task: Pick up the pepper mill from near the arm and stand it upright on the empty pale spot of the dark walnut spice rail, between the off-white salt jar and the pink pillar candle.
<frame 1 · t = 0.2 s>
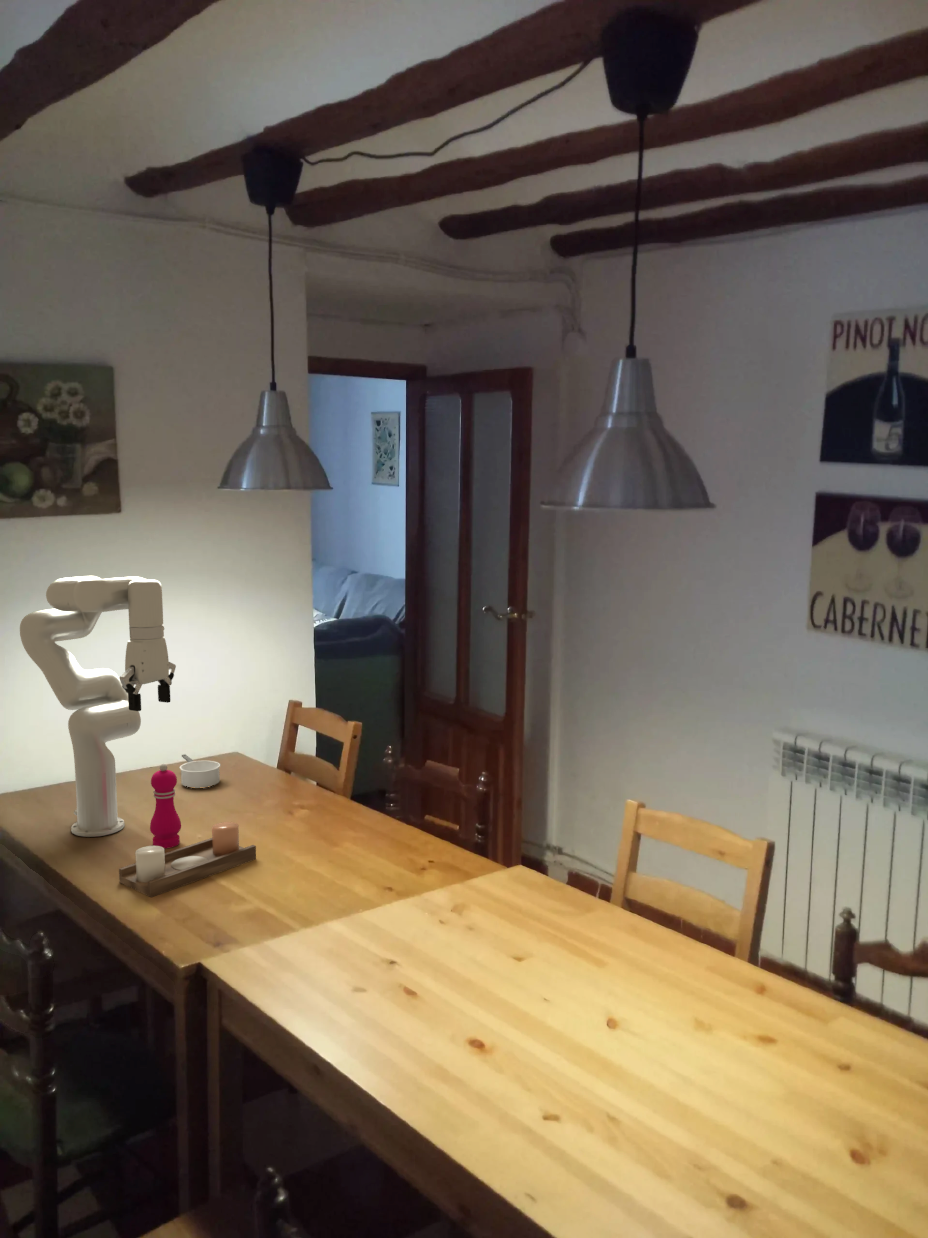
hand: (150, 706, 232), 35 cm above the table, tool pointing down, fingers open, 9 cm apart
pink pillar candle: (226, 857, 233), resting on spice rail
pepper mill: (166, 845, 242), on the table
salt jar: (151, 884, 218), resting on spice rail
spice rail: (189, 870, 226), on the table
saucepan: (195, 781, 292), on the table
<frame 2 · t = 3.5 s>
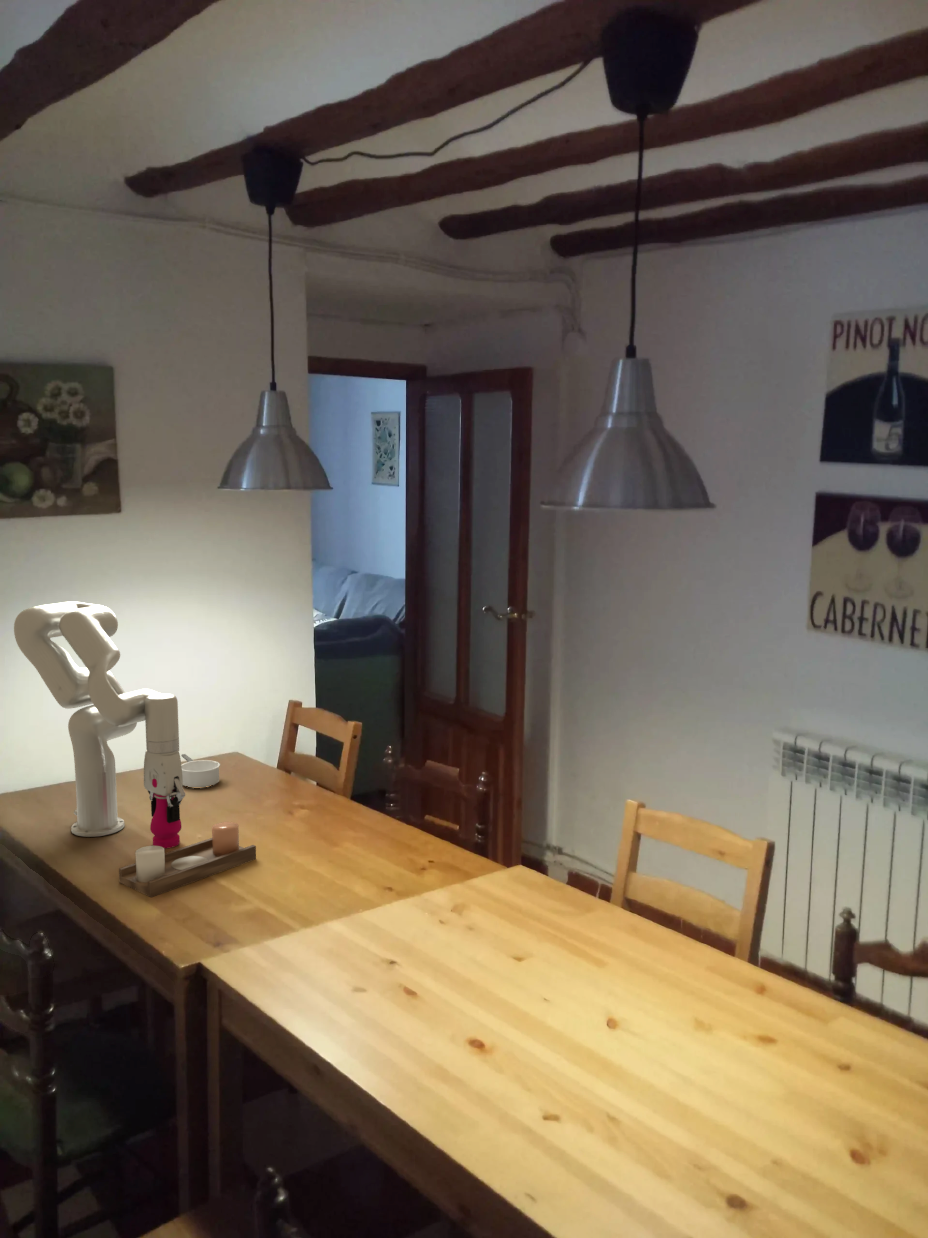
hand: (165, 817, 241), 7 cm above the table, tool pointing down, fingers closed on pepper mill, 5 cm apart
pepper mill: (166, 844, 242), on the table, touching gripper
everything else where it was.
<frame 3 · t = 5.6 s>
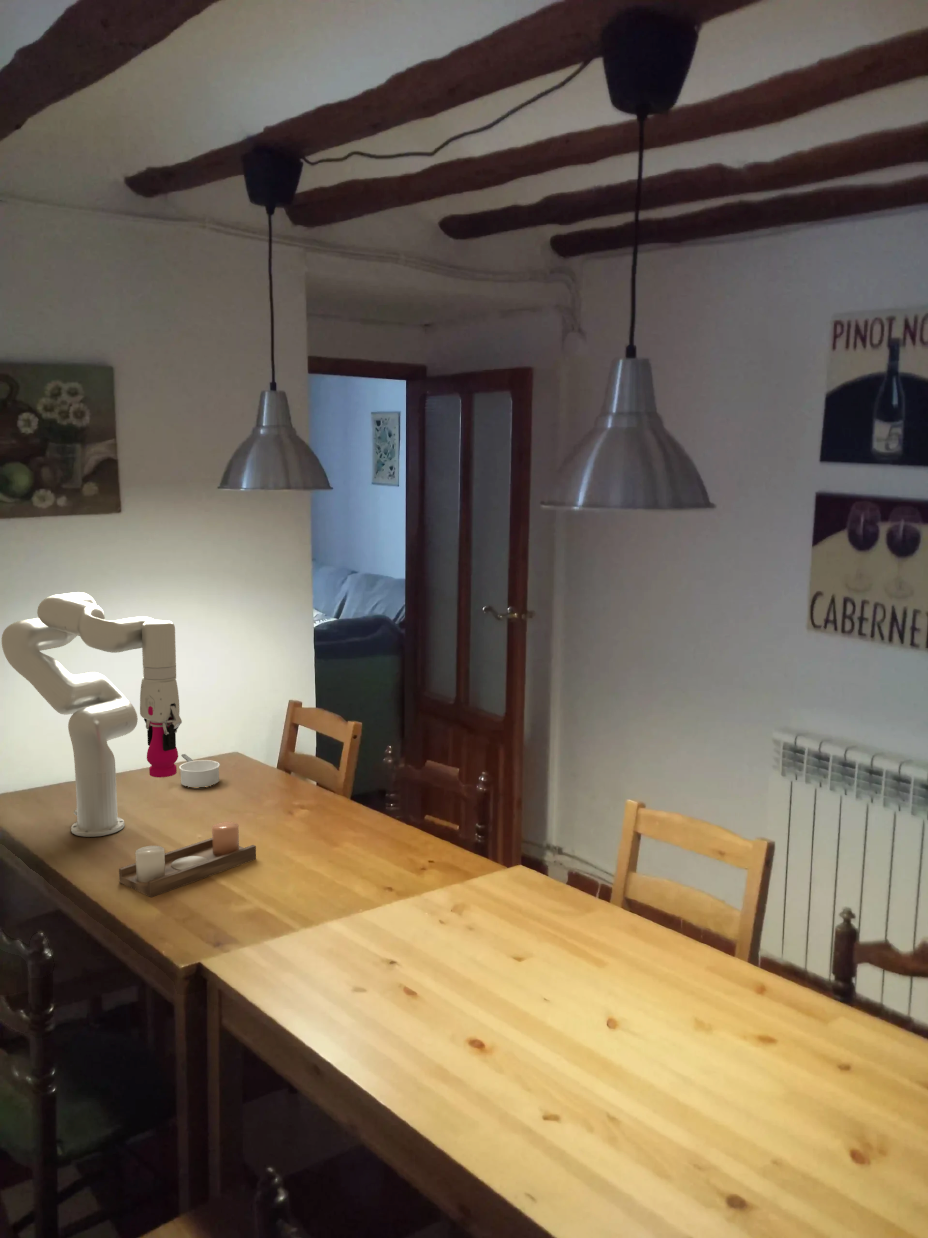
hand: (161, 746, 238), 24 cm above the table, tool pointing down, fingers closed on pepper mill, 5 cm apart
pepper mill: (163, 774, 239), point 17 cm above the table, touching gripper
everything else where it was.
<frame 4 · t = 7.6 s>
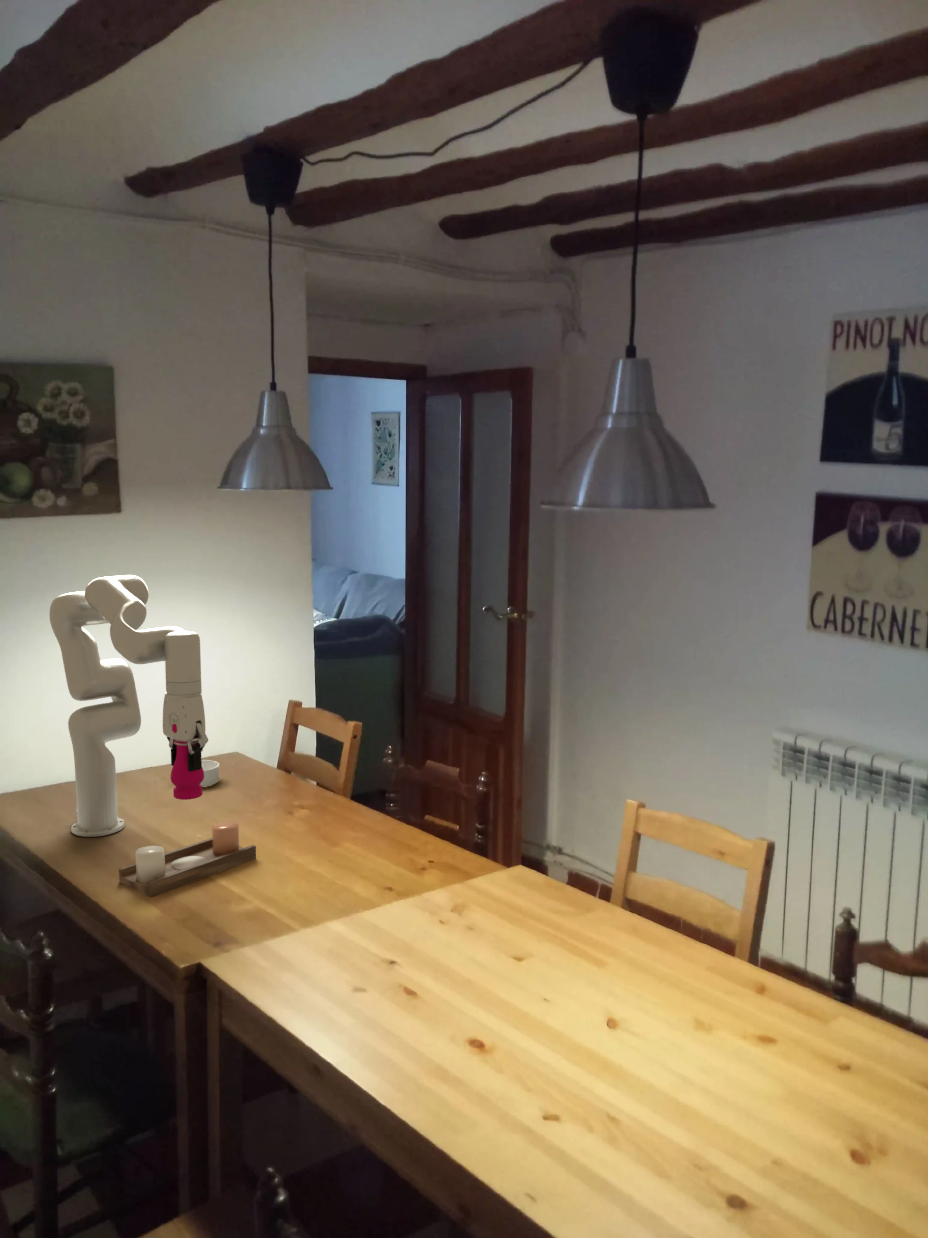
hand: (186, 766, 222), 24 cm above the table, tool pointing down, fingers closed on pepper mill, 5 cm apart
pepper mill: (188, 796, 223), point 17 cm above the table, touching gripper
everything else where it was.
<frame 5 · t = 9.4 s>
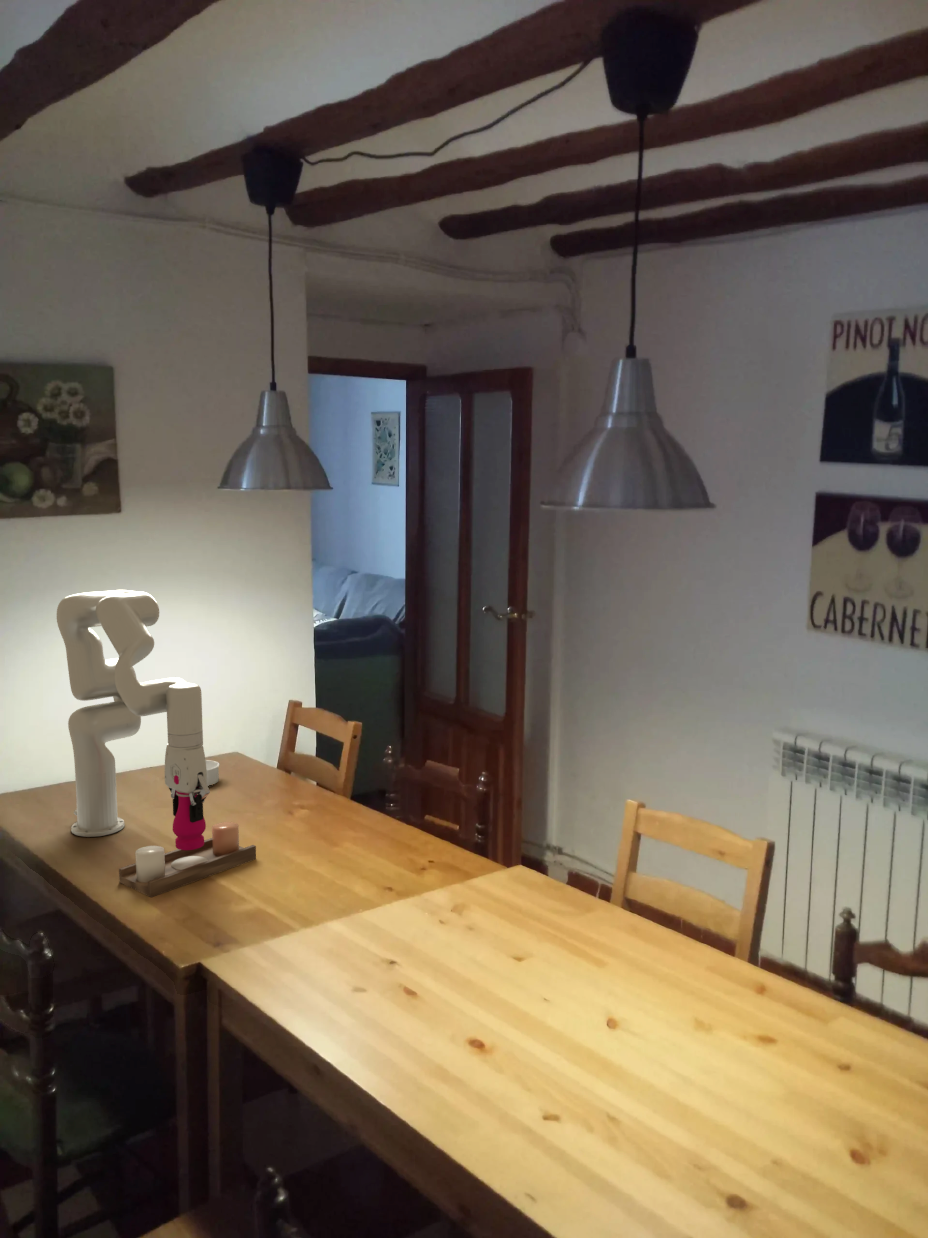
hand: (188, 817, 224), 13 cm above the table, tool pointing down, fingers closed on pepper mill, 5 cm apart
pepper mill: (190, 846, 225), point 6 cm above the table, touching gripper
everything else where it was.
when the fingers open (10 cm above the table, at t = 10.9 s): pepper mill drops 1 cm, resting on spice rail.
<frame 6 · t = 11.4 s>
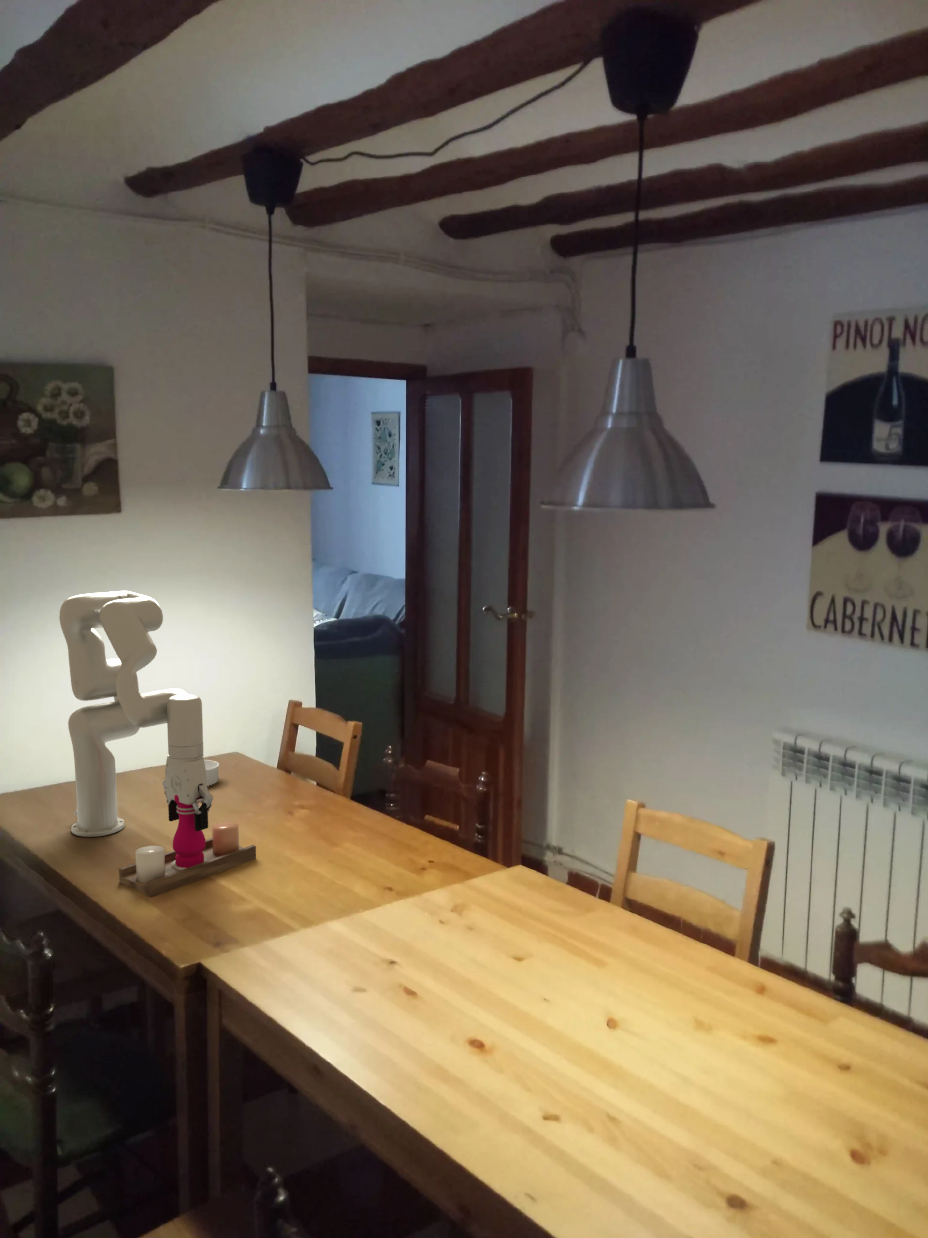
hand: (188, 824, 224), 11 cm above the table, tool pointing down, fingers open, 9 cm apart
pepper mill: (189, 863, 226), point 2 cm above the table, touching spice rail
everything else where it was.
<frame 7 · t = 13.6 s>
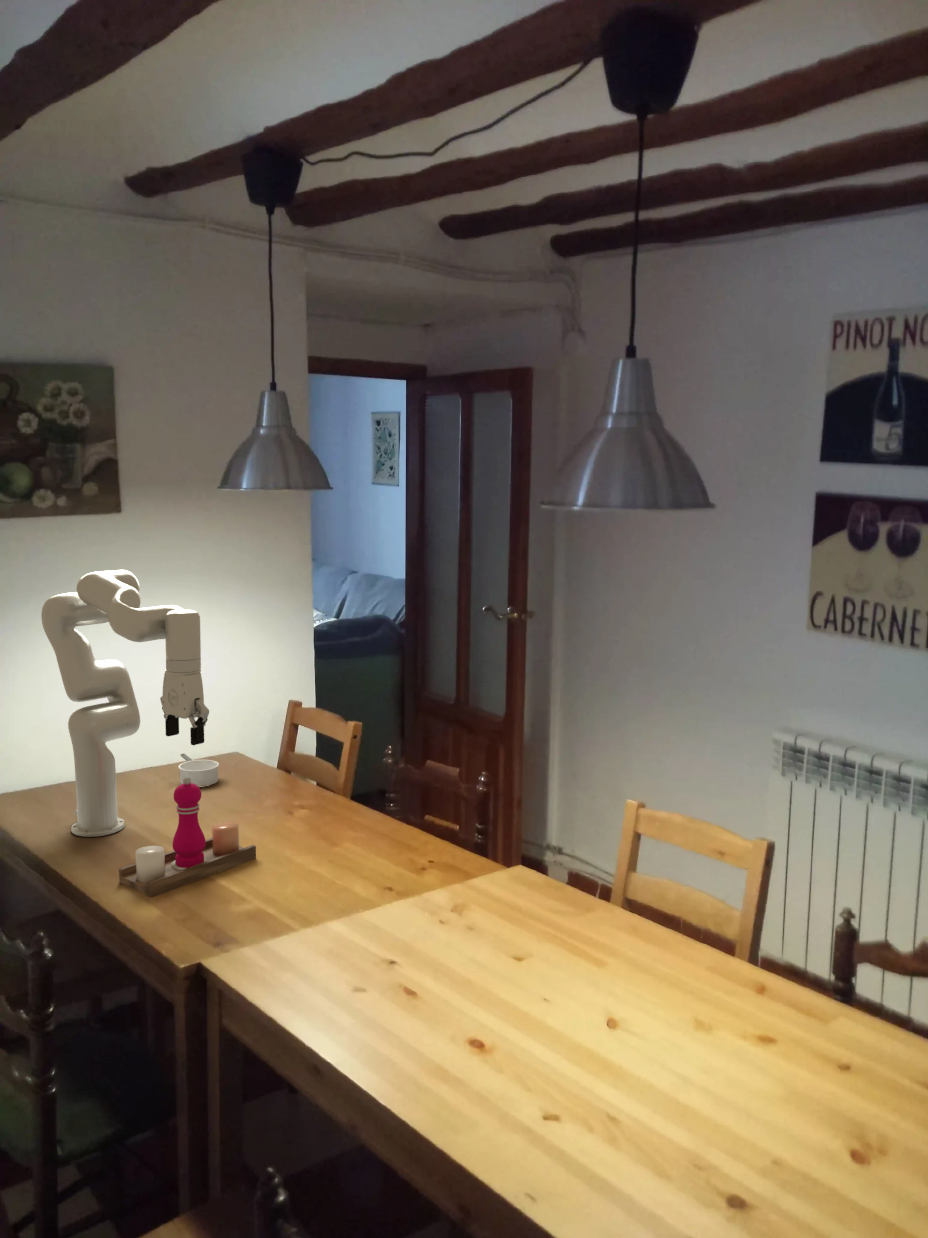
hand: (184, 739, 226), 29 cm above the table, tool pointing down, fingers open, 9 cm apart
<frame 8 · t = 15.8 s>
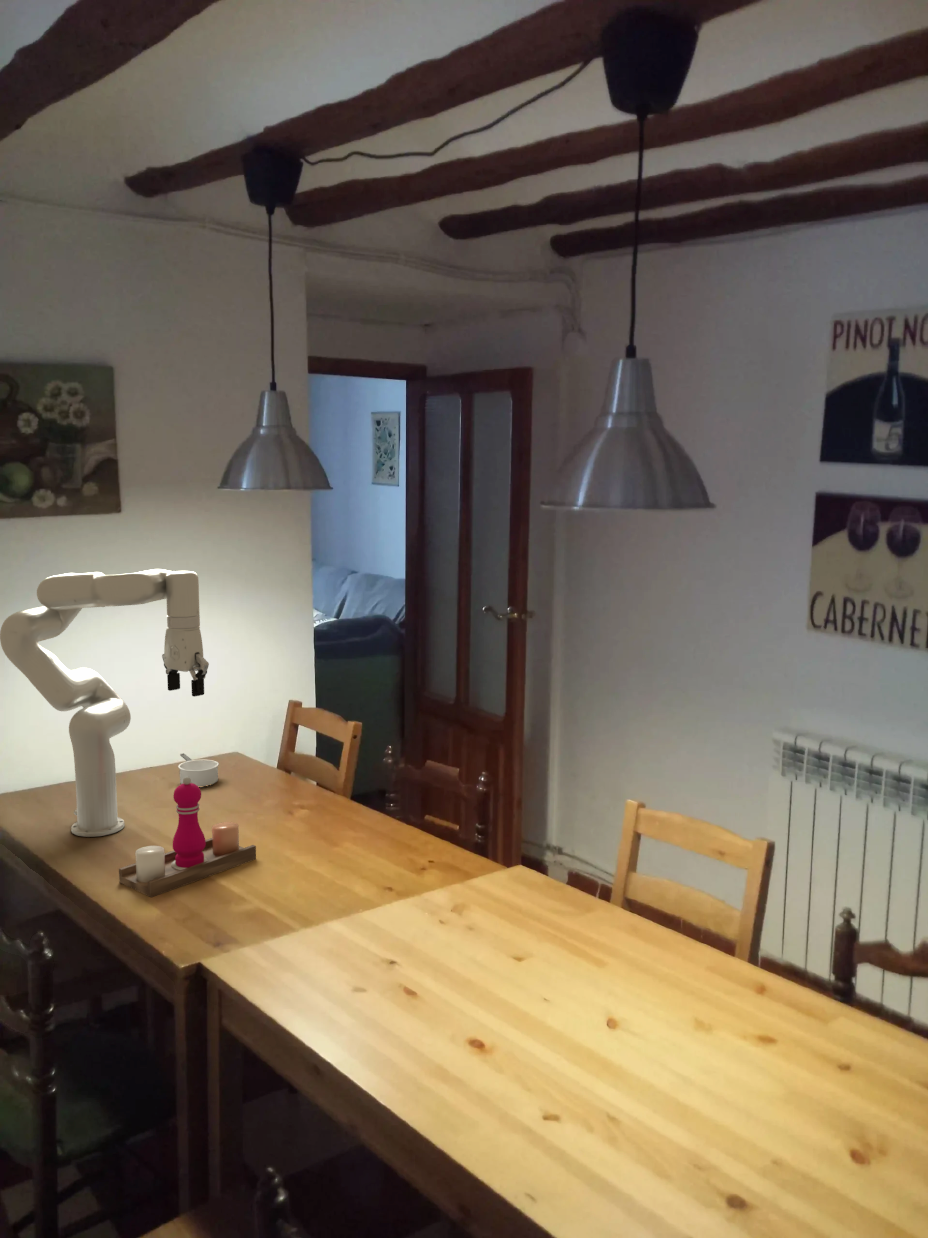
hand: (185, 692, 242), 36 cm above the table, tool pointing down, fingers open, 9 cm apart
at the end: pepper mill 0.1 cm off-centre on the spice rail, point 1.6 cm above the spice rail's base; pepper mill tilted 0°; the gripper is holding nothing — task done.
